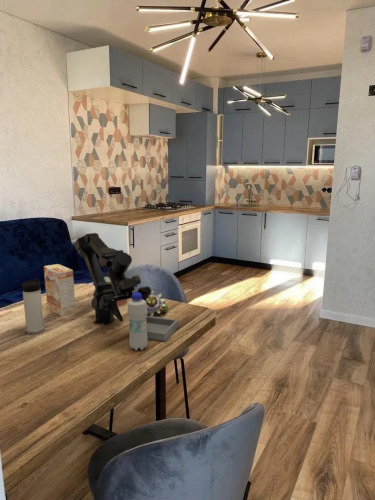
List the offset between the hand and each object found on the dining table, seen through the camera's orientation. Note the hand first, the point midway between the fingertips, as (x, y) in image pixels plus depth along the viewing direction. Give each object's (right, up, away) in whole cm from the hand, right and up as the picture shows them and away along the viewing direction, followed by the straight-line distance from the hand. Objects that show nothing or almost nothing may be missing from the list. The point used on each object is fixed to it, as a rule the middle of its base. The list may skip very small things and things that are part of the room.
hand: (134, 318), depth 132 cm
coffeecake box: (-37, -3, +36) cm, 52 cm away
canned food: (-15, -1, +45) cm, 48 cm away
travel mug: (-40, -8, +14) cm, 43 cm away
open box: (+6, -7, +13) cm, 16 cm away
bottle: (+2, -10, 0) cm, 11 cm away
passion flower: (+4, -4, +32) cm, 33 cm away
